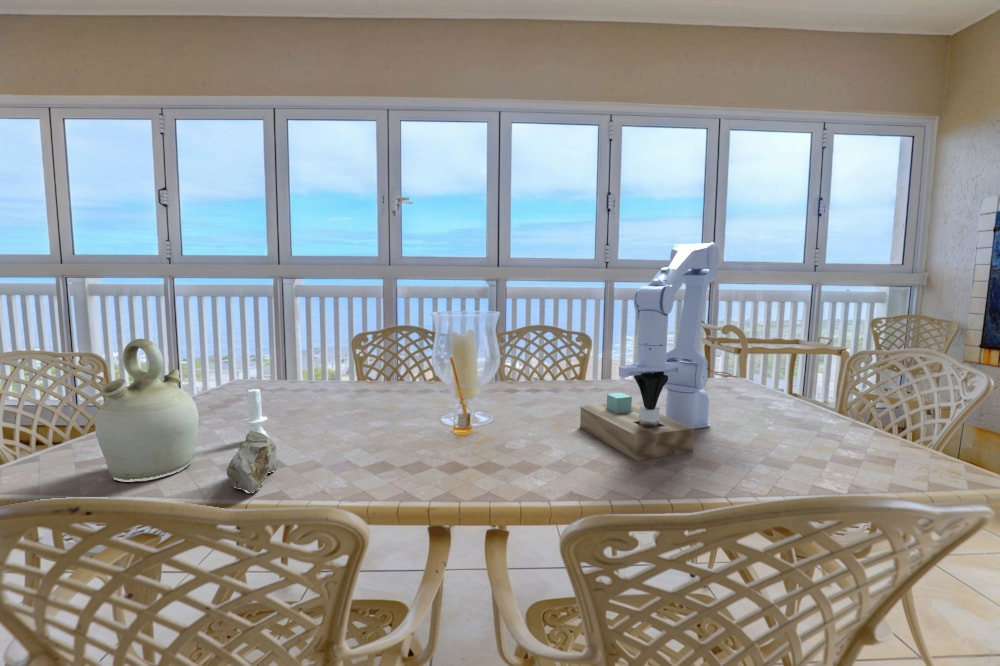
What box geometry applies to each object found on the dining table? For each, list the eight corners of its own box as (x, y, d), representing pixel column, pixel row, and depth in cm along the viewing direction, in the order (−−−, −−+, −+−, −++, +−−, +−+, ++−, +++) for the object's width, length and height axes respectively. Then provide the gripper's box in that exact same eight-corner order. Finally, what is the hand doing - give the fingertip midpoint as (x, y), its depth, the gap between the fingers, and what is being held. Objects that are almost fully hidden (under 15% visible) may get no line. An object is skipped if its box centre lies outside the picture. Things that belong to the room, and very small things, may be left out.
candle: (274, 440, 104) (271, 387, 102) (248, 446, 100) (244, 391, 99) (264, 434, 108) (261, 383, 106) (239, 440, 104) (236, 387, 102)
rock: (244, 461, 89) (241, 418, 85) (280, 464, 90) (279, 421, 86) (215, 510, 78) (210, 463, 74) (256, 512, 79) (254, 466, 75)
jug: (122, 495, 78) (106, 347, 75) (86, 475, 86) (71, 340, 83) (217, 464, 90) (207, 336, 87) (179, 449, 99) (168, 331, 96)
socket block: (629, 420, 117) (629, 401, 117) (693, 451, 97) (694, 428, 96) (580, 427, 112) (580, 406, 112) (636, 460, 92) (637, 436, 91)
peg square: (620, 413, 112) (621, 392, 111) (631, 417, 108) (631, 396, 107) (606, 414, 110) (607, 394, 110) (616, 419, 107) (616, 398, 106)
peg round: (650, 426, 102) (651, 404, 101) (662, 432, 98) (663, 409, 97) (635, 429, 100) (635, 406, 100) (646, 434, 96) (647, 411, 96)
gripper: (667, 339, 103) (664, 399, 105) (611, 343, 98) (609, 406, 100) (690, 344, 96) (687, 408, 98) (631, 347, 91) (629, 415, 93)
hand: (649, 407), depth 98 cm, fingers closed
